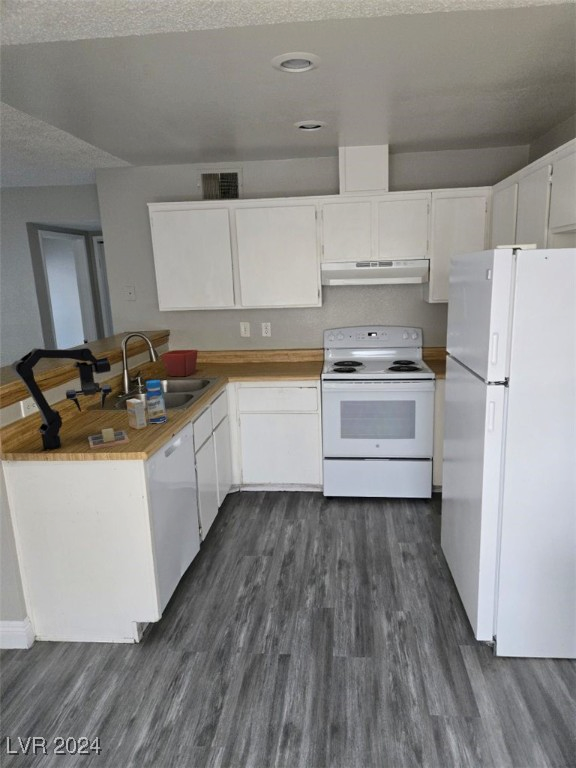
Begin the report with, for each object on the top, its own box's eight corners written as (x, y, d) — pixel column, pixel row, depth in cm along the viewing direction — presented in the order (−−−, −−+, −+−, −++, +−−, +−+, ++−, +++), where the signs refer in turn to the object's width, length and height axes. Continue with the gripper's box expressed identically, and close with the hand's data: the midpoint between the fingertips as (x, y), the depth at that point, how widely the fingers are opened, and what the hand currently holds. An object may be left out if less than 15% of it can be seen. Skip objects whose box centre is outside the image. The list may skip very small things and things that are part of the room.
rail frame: (91, 449, 208) (90, 447, 208) (88, 439, 223) (88, 436, 222) (129, 442, 214) (129, 439, 214) (124, 432, 229) (124, 430, 228)
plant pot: (177, 372, 371) (174, 349, 368) (200, 372, 365) (198, 349, 362) (163, 378, 354) (160, 354, 350) (187, 378, 348) (184, 354, 344)
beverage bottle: (170, 419, 246) (165, 379, 242) (161, 424, 238) (156, 383, 234) (154, 418, 249) (149, 379, 244) (145, 423, 241) (140, 383, 237)
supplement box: (129, 427, 237) (125, 400, 235) (138, 424, 241) (134, 398, 238) (137, 430, 232) (134, 402, 229) (147, 427, 235) (143, 400, 232)
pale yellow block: (104, 445, 212) (102, 432, 211) (103, 443, 216) (101, 429, 215) (115, 443, 214) (113, 430, 212) (114, 441, 218) (112, 427, 216)
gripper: (63, 382, 210) (69, 418, 213) (110, 375, 217) (115, 410, 221) (63, 377, 220) (68, 412, 223) (108, 372, 227) (112, 405, 231)
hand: (91, 410), depth 224 cm, fingers open, 9 cm apart
